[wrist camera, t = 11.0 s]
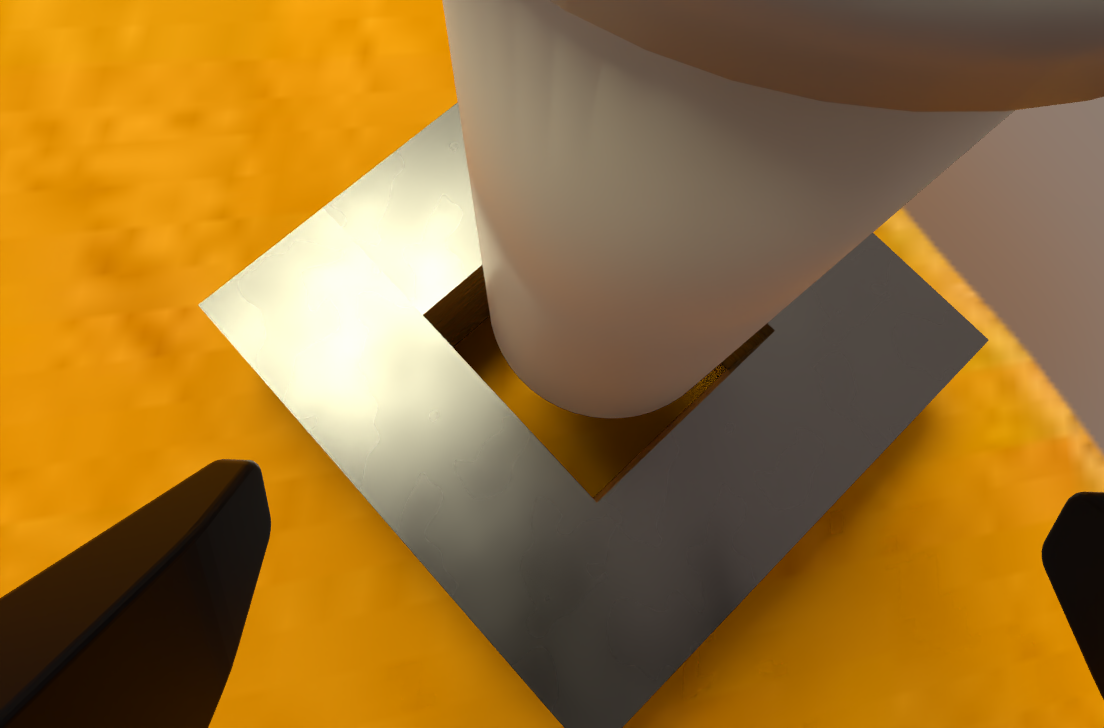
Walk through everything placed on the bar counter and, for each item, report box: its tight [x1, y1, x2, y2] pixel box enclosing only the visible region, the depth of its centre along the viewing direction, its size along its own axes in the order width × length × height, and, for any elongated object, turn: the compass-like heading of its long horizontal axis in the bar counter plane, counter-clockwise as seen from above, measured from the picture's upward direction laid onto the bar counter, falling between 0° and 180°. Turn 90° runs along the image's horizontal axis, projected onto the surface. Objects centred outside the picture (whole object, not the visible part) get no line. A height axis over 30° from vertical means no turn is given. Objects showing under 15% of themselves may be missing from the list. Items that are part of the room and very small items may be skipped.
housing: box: [199, 103, 988, 728], centre depth 18 cm, size 13×13×4 cm
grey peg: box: [443, 0, 1104, 418], centre depth 9 cm, size 6×6×12 cm
